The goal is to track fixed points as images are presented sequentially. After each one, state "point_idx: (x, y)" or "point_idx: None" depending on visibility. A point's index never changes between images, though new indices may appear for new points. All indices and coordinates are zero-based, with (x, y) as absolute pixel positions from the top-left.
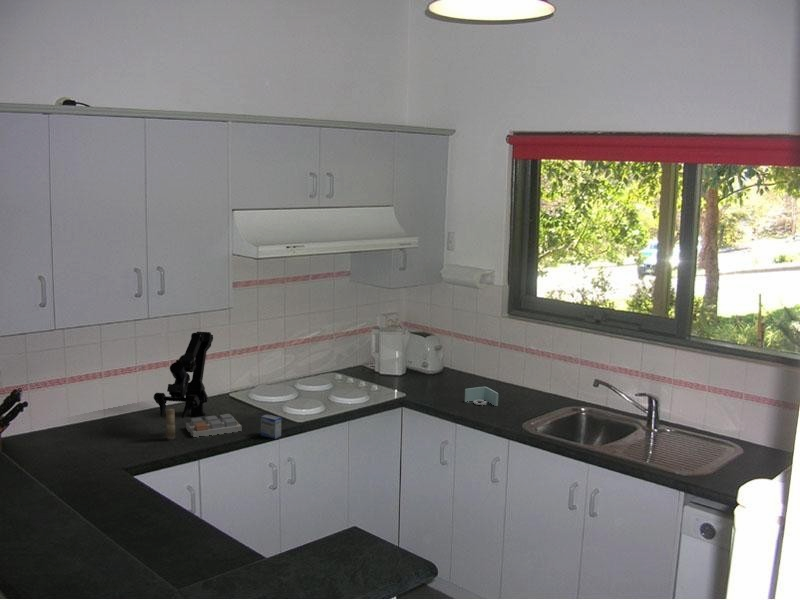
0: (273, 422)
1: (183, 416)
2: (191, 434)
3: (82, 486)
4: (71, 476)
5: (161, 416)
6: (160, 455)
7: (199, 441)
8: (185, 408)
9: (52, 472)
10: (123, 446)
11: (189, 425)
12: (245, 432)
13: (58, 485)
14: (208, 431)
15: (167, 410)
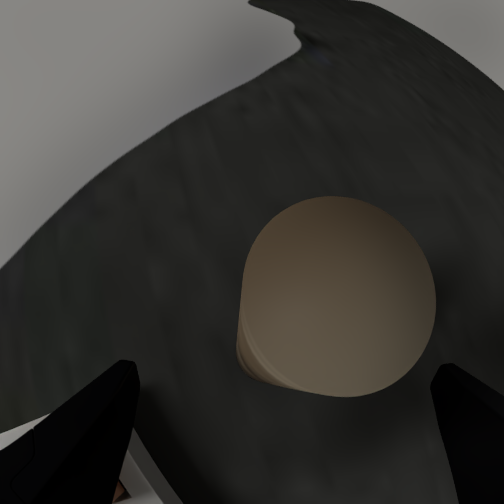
0: None
1: (111, 376)
2: (141, 445)
3: (352, 6)
4: (410, 38)
5: (439, 370)
6: (242, 115)
7: (67, 326)
8: (37, 456)
9: (457, 62)
10: (456, 208)
11: None
12: None
13: (397, 18)
14: (22, 426)
15: (394, 245)
